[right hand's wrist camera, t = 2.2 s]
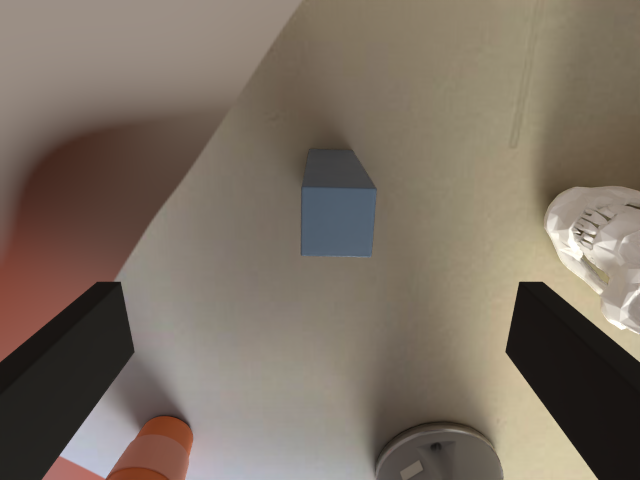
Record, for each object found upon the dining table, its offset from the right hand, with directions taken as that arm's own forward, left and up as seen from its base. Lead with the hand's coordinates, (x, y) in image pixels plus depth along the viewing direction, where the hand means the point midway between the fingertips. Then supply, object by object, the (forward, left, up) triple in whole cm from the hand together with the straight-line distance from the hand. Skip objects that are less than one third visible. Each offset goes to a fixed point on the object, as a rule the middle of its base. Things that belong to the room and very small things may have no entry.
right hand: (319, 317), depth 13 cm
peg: (-1, -1, -25) cm, 25 cm away
